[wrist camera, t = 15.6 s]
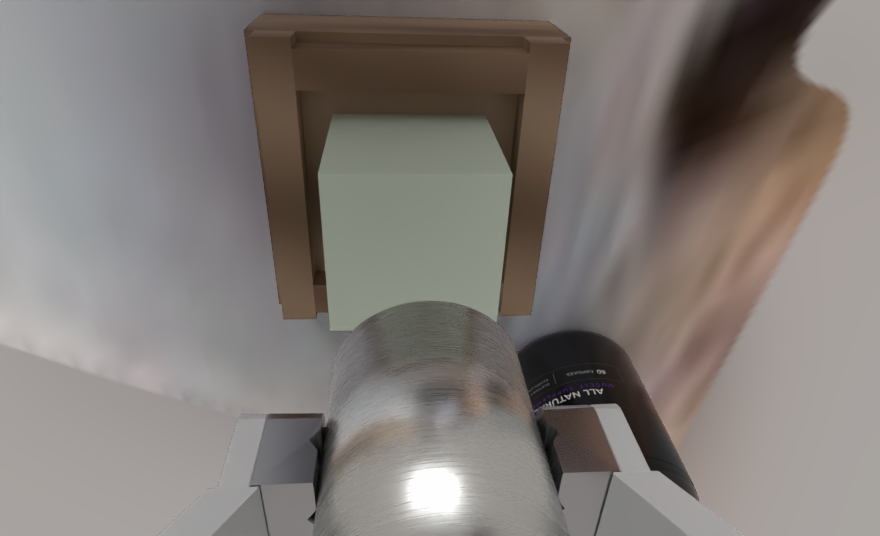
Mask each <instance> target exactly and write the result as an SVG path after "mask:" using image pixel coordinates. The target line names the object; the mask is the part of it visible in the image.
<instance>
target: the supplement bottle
mask: <svg viewBox="0 0 880 536" xmlns="http://www.w3.org/2000/svg"><path fill="white" fill-rule="evenodd" d="M517 356H518V359H519V362H520V366H521V369H522V373H523V376H524V380H525V383H526V387H527V390H528V393H529V397H530V400H531V404H532V407H533V411H534V414H535V417H536V412H537V410H538V408H539V407H545V406H570V405H594V404H617V405H618V406H619V407H620V408H621V410H622V412H623V414H624V416H625V418H626V420H627V422H628V424H629V427H630V429H631V431H632V433H633V435H634V437H635V439H636V441H637V443H638V445H639V448H640V450H641V452H642V454H643V456H644V458H645V460H646V462H647V464H648V466H649V469H650V471H659V472H661V473H662V474H663V475H665V476H666V477H667V478H668V479H670V480H671V481H672V482H674V483H675V484H676V485H678V486H679V487H680V488H682V489H683V490H684V491H686V492H687V493H688V494H690V495H691V496H692V497H694V498H695V499H696V500H698V501H699V498H698V495H697V492H696V490H695V488H694V485H693V483H692V481H691V479H690V477H689V475H688V473H687V471H686V469H685V467H684V465H683V463H682V461H681V459H680V457H679V455H678V453H677V451H676V449H675V447H674V445H673V443H672V441H671V439H670V437H669V435H668V433H667V431H666V429H665V427H664V425H663V423H662V421H661V419H660V417H659V415H658V413H657V411H656V409H655V407H654V405H653V403H652V401H651V399H650V397H649V395H648V393H647V391H646V389H645V387H644V385H643V383H642V381H641V379H640V377H639V375H638V373H637V371H636V370H635V368H634V366H633V364H632V362H631V360H630V358H629V357H628V355H627V354H626V352H625V351H624V350H623V349H622V348H621V347H620V346H619V345H618V344H617V343H615V342H614V341H612V340H611V339H609V338H607V337H605V336H602V335H600V334H597V333H593V332H588V331H575V330H573V331H562V332H557V333H553V334H549V335H546V336H544V337H541V338H539V339H537V340H535V341H533V342H531V343H530V344H528V345H527V346H525V347H524V348H523V349H521V350H520V351H519V352H518V353H517Z"/></svg>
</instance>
